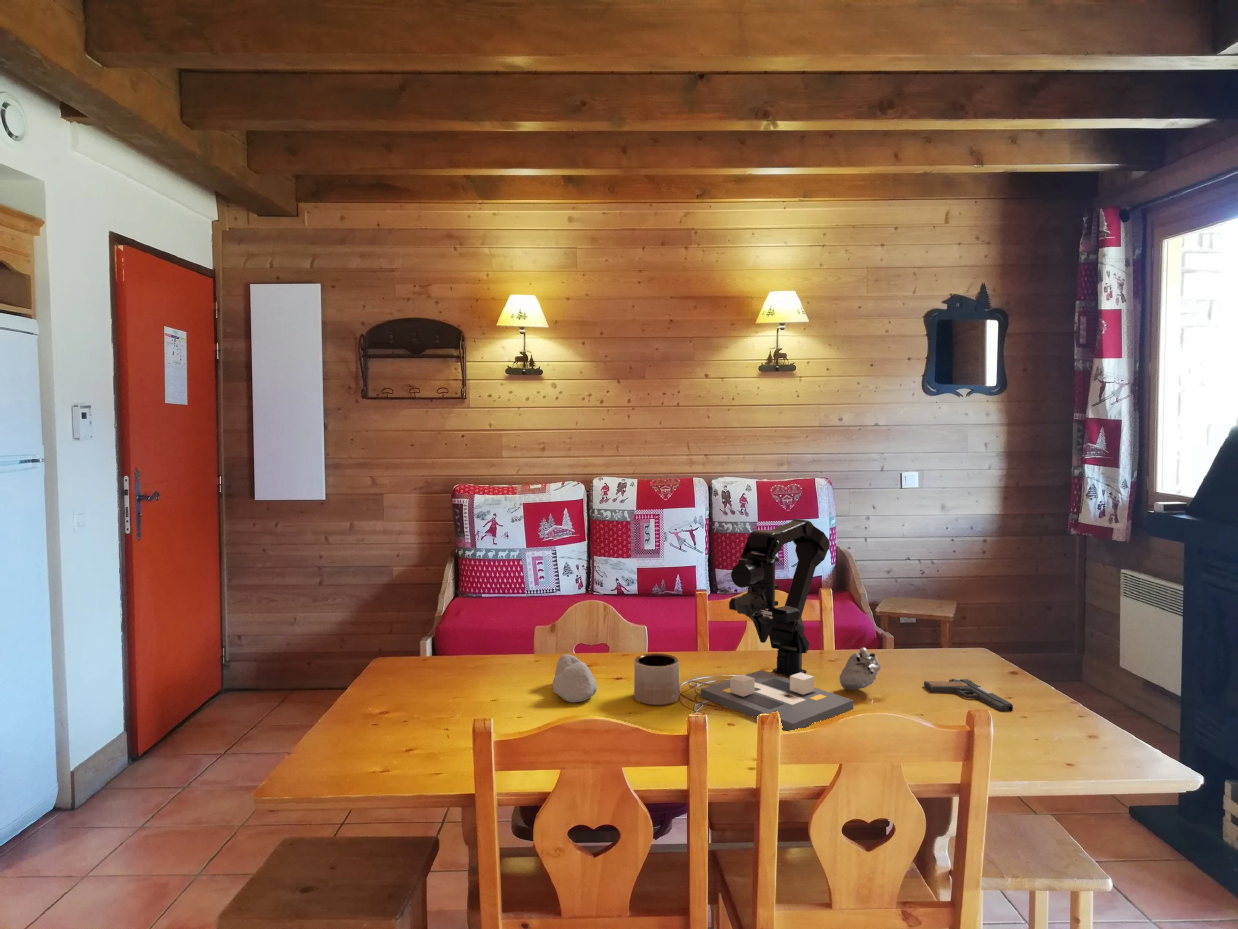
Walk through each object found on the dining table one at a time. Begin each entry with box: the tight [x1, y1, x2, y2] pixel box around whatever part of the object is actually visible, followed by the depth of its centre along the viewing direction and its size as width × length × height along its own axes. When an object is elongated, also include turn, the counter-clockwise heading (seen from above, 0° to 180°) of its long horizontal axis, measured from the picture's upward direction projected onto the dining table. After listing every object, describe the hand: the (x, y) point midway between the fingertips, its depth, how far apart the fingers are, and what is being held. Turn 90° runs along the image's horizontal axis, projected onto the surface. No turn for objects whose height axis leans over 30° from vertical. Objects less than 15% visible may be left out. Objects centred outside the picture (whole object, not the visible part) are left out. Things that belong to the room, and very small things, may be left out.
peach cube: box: [789, 672, 815, 695], centre depth 188 cm, size 4×4×4 cm
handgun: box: [923, 678, 1014, 712], centre depth 189 cm, size 19×2×12 cm
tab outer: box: [729, 674, 755, 697], centre depth 187 cm, size 4×4×4 cm
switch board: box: [700, 669, 854, 732], centre depth 187 cm, size 22×28×2 cm
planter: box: [633, 652, 680, 707], centre depth 189 cm, size 11×11×10 cm
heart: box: [839, 647, 882, 691], centre depth 194 cm, size 10×10×12 cm
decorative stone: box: [552, 653, 598, 703], centre depth 194 cm, size 17×10×10 cm
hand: (763, 642), depth 198 cm, fingers closed
